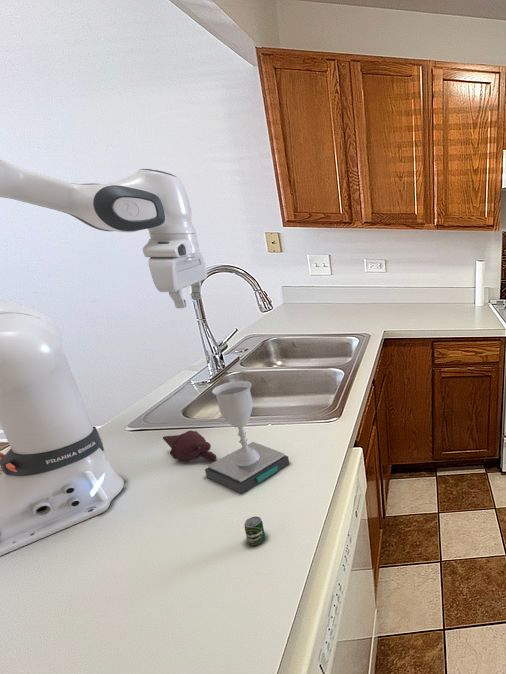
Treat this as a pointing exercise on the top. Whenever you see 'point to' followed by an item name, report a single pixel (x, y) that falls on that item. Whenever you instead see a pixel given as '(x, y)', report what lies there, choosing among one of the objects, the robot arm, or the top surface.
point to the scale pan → (242, 473)
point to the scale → (250, 481)
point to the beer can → (254, 530)
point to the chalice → (237, 414)
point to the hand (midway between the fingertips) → (189, 303)
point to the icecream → (189, 446)
